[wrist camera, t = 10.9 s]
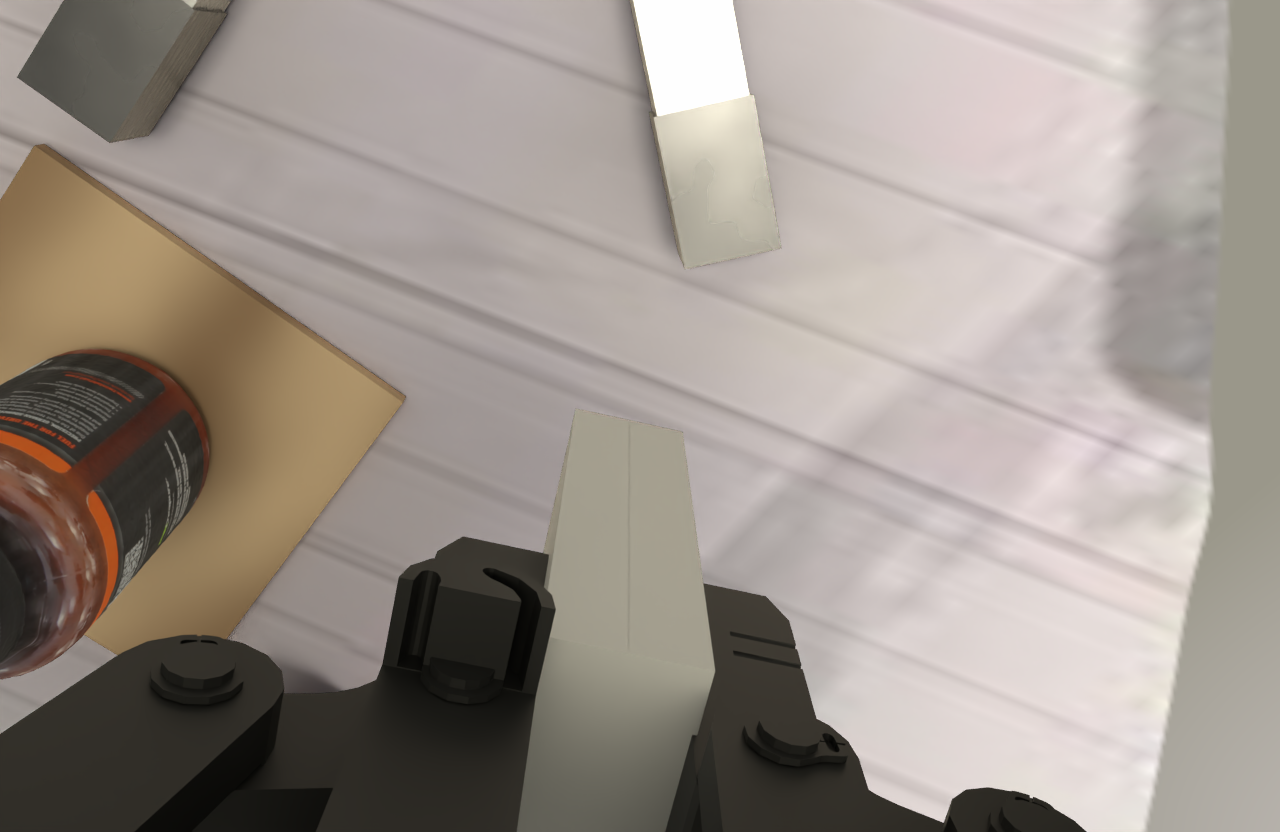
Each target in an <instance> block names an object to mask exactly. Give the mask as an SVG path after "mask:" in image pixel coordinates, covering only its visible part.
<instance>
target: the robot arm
mask: <svg viewBox="0 0 1280 832" xmlns="http://www.w3.org/2000/svg"><path fill="white" fill-rule="evenodd" d="M795 646H796V644H795V640H794V637H793V633H792V630H791V626H790V622H789V620H788V619H787V618H786V617H785V616H784V615H783V614H782V613H781V612H780V611H779V610H778V609H777V608H776V607H775V606H774V605H773V603H772V602H771V601H770V600H769V599H768V598H767V597H766V596H761V595H756V594H751V593H747V592H742V591H737V590H732V589H728V588H723V587H718V586H713V585H708V584H704V583H703V578H702V571H701V563H700V556H699V549H698V541H697V534H696V527H695V519H694V512H693V505H692V498H691V490H690V483H689V476H688V468H687V461H686V454H685V446H684V439H683V432H681V431H676V430H672V429H667V428H663V427H658V426H654V425H649V424H644V423H640V422H635V421H631V420H626V419H622V418H617V417H612V416H608V415H603V414H599V413H594V412H590V411H585V410H580V409H575V414H574V418H573V423H572V427H571V432H570V436H569V441H568V445H567V449H566V454H565V458H564V463H563V467H562V472H561V476H560V480H559V485H558V489H557V494H556V498H555V503H554V507H553V512H552V516H551V520H550V525H549V529H548V534H547V538H546V543H545V547H544V551H543V553H539V552H534V551H530V550H525V549H520V548H515V547H510V546H506V545H501V544H496V543H491V542H487V541H482V540H477V539H472V538H467V537H461V538H460V539H458V540H456V541H454V542H453V543H451V544H449V545H448V546H446V547H444V548H442V549H441V550H439V551H438V552H437V554H436V557H435V559H429V560H426V561H423V562H420V563H417V564H414V565H411V566H410V567H409V568H408V569H407V570H406V571H405V572H404V573H403V574H402V575H401V576H400V577H399V579H398V585H397V590H396V595H395V601H394V606H393V611H392V616H391V622H390V627H389V632H388V638H387V643H386V648H385V654H384V659H383V664H382V667H381V670H380V672H379V675H378V677H377V680H375V681H373V682H371V683H368V684H366V685H363V686H361V687H358V688H354V689H349V690H345V691H340V692H332V693H315V694H285V693H284V683H283V677H282V671H281V670H280V669H279V667H278V666H277V665H276V664H275V663H274V662H273V661H272V660H271V659H270V658H269V657H268V656H267V655H266V654H264V653H262V652H260V651H258V650H256V649H254V648H252V647H249V646H247V645H245V644H243V643H240V642H235V641H231V640H226V639H222V638H220V637H217V636H209V635H201V636H197V635H179V636H174V637H168V638H162V639H157V640H151V641H147V642H144V643H142V644H140V645H138V646H136V647H133V648H131V649H129V650H127V651H124V652H122V653H121V654H119V655H118V656H116V657H115V658H113V659H112V660H110V661H109V662H107V663H106V664H104V665H103V666H101V667H100V668H98V669H97V670H95V671H94V672H92V673H91V674H89V675H88V676H86V677H85V678H83V679H82V680H80V681H79V682H77V683H76V684H74V685H73V686H71V687H70V688H68V689H67V690H65V691H64V692H62V693H61V694H59V695H58V696H56V697H55V698H53V699H52V700H50V701H49V702H47V703H46V704H44V705H43V706H41V707H40V708H38V709H37V710H35V711H34V712H32V713H31V714H29V715H28V716H26V717H25V718H23V719H22V720H20V721H19V722H17V723H16V724H14V725H13V726H11V727H10V728H8V729H7V730H5V731H4V732H3V733H1V734H0V832H1086V831H1085V830H1084V829H1083V828H1082V827H1080V826H1079V825H1078V824H1077V823H1076V822H1075V821H1074V820H1072V819H1070V818H1069V817H1067V816H1065V815H1064V814H1062V813H1060V812H1059V811H1057V810H1055V809H1054V808H1053V807H1052V806H1051V805H1050V804H1048V803H1046V802H1044V801H1042V800H1039V799H1037V798H1035V797H1033V799H1032V798H1030V797H1029V795H1026V794H1023V793H1020V792H1016V791H1005V790H1000V789H994V788H978V789H969V790H965V791H963V792H962V793H961V794H959V795H958V796H956V797H955V798H953V799H952V801H951V804H950V807H949V810H948V813H947V815H946V818H945V821H944V823H942V822H940V821H937V820H935V819H932V818H930V817H927V816H925V815H922V814H920V813H917V812H915V811H912V810H910V809H907V808H905V807H902V806H899V805H897V804H895V803H893V802H891V801H889V800H887V799H884V798H882V797H880V796H878V795H876V794H874V793H873V792H871V791H870V790H868V786H867V783H866V780H865V777H864V774H863V771H862V768H861V765H860V761H859V758H858V757H857V755H856V754H855V752H854V750H853V749H852V747H851V745H850V744H849V742H848V741H847V740H846V739H845V738H843V737H842V736H841V735H840V734H839V733H837V732H836V731H835V730H834V729H833V728H831V727H830V726H829V725H827V724H825V723H824V722H822V721H820V720H818V719H816V716H815V712H814V709H813V705H812V701H811V698H810V694H809V691H808V687H807V683H806V680H805V676H804V673H803V669H800V668H801V662H800V658H799V655H798V651H797V649H795Z"/></svg>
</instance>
